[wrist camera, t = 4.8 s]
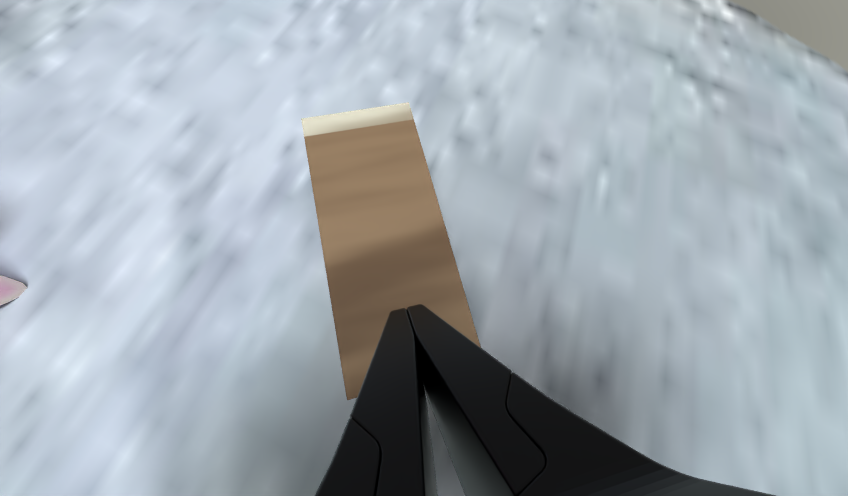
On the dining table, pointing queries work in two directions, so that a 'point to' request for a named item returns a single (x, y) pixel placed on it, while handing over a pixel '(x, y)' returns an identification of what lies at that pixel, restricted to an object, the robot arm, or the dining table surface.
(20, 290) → the lily
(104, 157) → the dining table surface
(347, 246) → the walnut block
